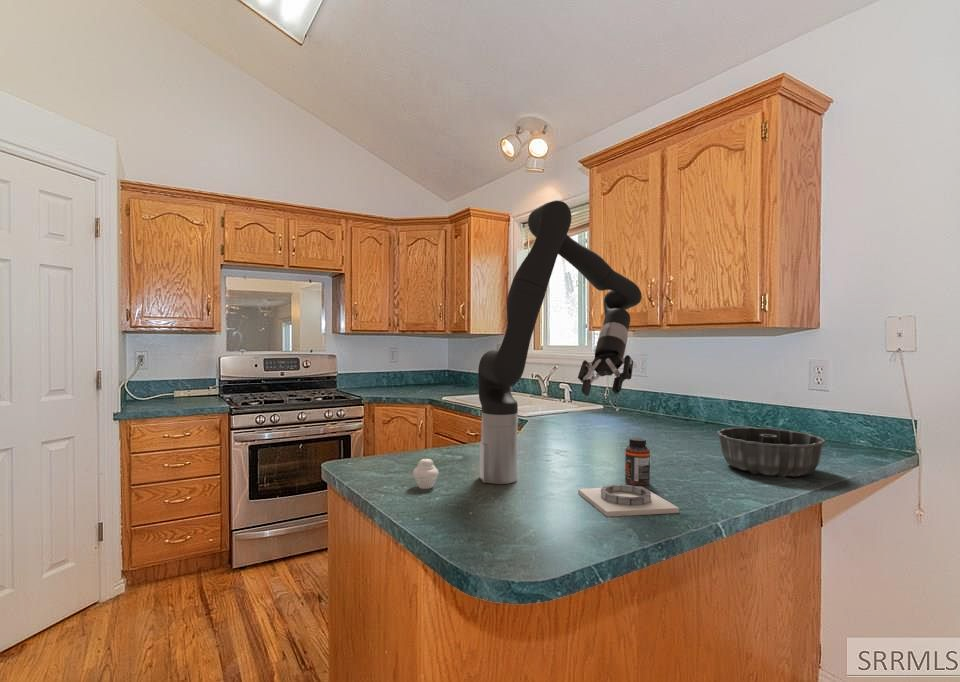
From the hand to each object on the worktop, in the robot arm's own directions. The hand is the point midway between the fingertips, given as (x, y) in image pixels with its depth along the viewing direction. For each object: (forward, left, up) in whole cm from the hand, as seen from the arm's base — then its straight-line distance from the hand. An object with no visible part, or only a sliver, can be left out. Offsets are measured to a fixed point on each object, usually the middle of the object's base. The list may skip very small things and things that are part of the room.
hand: (599, 393), depth 128 cm
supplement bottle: (+9, -3, -23) cm, 25 cm away
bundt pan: (+53, +5, -23) cm, 58 cm away
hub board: (-1, -17, -22) cm, 28 cm away
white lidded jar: (-44, +1, -23) cm, 49 cm away
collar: (-1, -17, -22) cm, 28 cm away
